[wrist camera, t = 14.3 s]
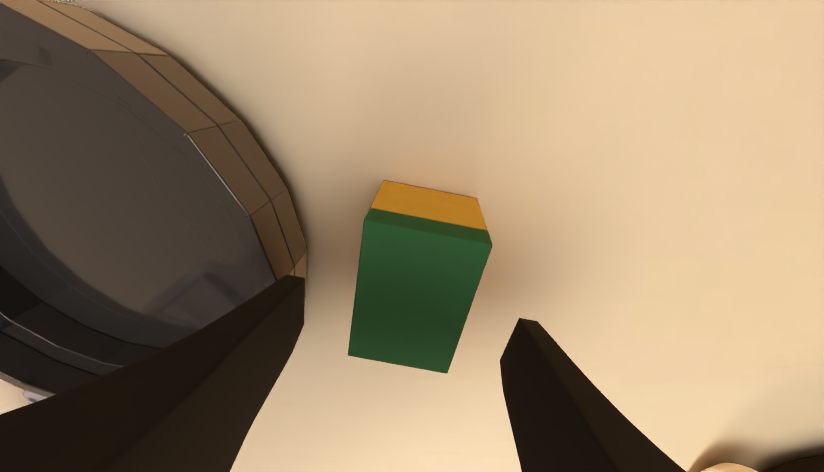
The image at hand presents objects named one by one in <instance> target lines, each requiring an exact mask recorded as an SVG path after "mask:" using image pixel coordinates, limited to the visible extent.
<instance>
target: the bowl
mask: <svg viewBox="0 0 824 472" xmlns="http://www.w3.org/2000/svg"><path fill="white" fill-rule="evenodd" d="M306 249H307V247H306V244H305V240H304V237H303V234H302V231H301V228H300V225H299V222H298V219H297V216H296V213H295V210H294V207H293V204H292V201H291V198H290V195H289V192H288V189H287V187H286V185H285V184H284V182H283V181H282V179H281V178H280V176H279V175H278V173H277V172H276V170H275V169H274V167H273V166H272V164H271V163H270V161H269V160H268V158H267V157H266V155H265V154H264V152H263V151H262V149H261V148H260V146H259V145H258V143H257V142H256V140H255V139H254V137H253V136H252V135H251V133H250V132H249V130H248V129H247V127H246V126H245V124H244V123H243V121H240V119H239V118H238V117H237V116H236V115H235V114H234V113H233V112H232V111H231V110H229V109H228V108H227V107H226V106H225V105H224V104H223V103H222V102H221V101H220V100H218V99H217V98H216V97H215V96H214V95H213V94H212V93H211V92H210V91H209V90H207V89H206V88H205V87H204V86H203V85H202V84H201V83H200V82H199V81H198V80H197V79H195V78H194V77H193V76H192V75H191V74H190V73H189V72H188V71H187V70H186V69H184V68H183V67H182V66H181V65H180V64H179V63H178V62H177V61H176V60H175V59H173V58H172V57H170V55H169V54H167V53H165V52H163V51H161V50H160V49H158V48H156V47H154V46H152V45H150V44H148V43H147V42H145V41H143V40H141V39H139V38H137V37H136V36H134V35H132V34H130V33H128V32H126V31H125V30H123V29H121V28H119V27H117V26H115V25H114V24H112V23H110V22H108V21H106V20H104V19H103V18H101V17H99V16H97V15H95V14H93V13H91V12H90V11H88V10H86V9H84V8H81V7H78V6H73V5H68V4H63V3H59V2H54V1H49V0H0V379H2V380H4V381H7V382H9V383H11V384H13V385H15V386H17V387H19V388H22V389H24V390H27V391H29V392H32V393H35V394H38V395H41V396H44V397H47V398H48V397H50V396H53V395H56V394H59V393H61V392H64V391H66V390H69V389H71V388H74V387H76V386H79V385H81V384H84V383H87V382H89V381H91V380H94V379H96V378H99V377H101V376H103V375H105V374H108V373H110V372H112V371H115V370H117V369H119V368H122V367H124V366H126V365H128V364H131V363H133V362H135V361H138V360H140V359H142V358H144V357H146V356H149V355H151V354H153V353H155V352H157V351H159V350H161V349H163V348H165V347H167V346H169V345H171V344H173V343H175V342H177V341H179V340H181V339H183V338H185V337H187V336H189V335H190V334H192V333H194V332H196V331H198V330H199V329H201V328H203V327H205V326H206V325H208V324H210V323H211V322H213V321H215V320H216V319H218V318H220V317H222V316H223V315H225V314H227V313H228V312H230V311H231V310H233V309H235V308H236V307H238V306H239V305H241V304H242V303H244V302H245V301H247V300H249V299H250V298H252V297H253V296H255V295H256V294H258V293H259V292H261V291H262V290H264V289H265V288H267V287H268V286H270V285H271V284H273V283H274V282H276V281H277V280H279V279H280V278H282V277H283V276H285V275H286V274H288V275H293V276H298V277H304V278H305V298H306V263H307V250H306Z"/></svg>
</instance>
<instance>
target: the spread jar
mask: <svg viewBox="0 0 824 472" xmlns="http://www.w3.org/2000/svg"><path fill="white" fill-rule="evenodd" d="M701 472H758V471H755V470H753V469H751V468H748V467H745V466H742V465H739V464H734V463H720V464H717V465H714V466H712V467H709V468H707V469H705V470H703V471H701ZM770 472H824V455H823V456H816V457H810V458H805V459H801V460H797V461H794V462H790V463H787V464H785V465H782V466H780V467H778V468H776V469H773V470H772V471H770Z"/></svg>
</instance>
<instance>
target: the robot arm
mask: <svg viewBox="0 0 824 472" xmlns="http://www.w3.org/2000/svg"><path fill="white" fill-rule="evenodd" d="M304 301H305V278H304V277H298V276H293V275H288V274H286V275H285V276H283V277H282V278H280V279H279V280H277V281H276V282H274V283H273V284H271V285H270V286H268V287H267V288H265V289H264V290H262V291H261V292H259V293H258V294H256V295H255V296H253V297H252V298H250V299H249V300H247V301H245V302H244V303H242V304H241V305H239V306H238V307H236V308H235V309H233V310H231V311H230V312H228V313H227V314H225V315H223V316H222V317H220V318H218V319H216V320H215V321H213V322H211V323H210V324H208V325H206V326H205V327H203V328H201V329H199V330H198V331H196V332H194V333H192V334H190V335H189V336H187V337H185V338H183V339H181V340H179V341H177V342H175V343H173V344H171V345H169V346H167V347H165V348H163V349H161V350H159V351H157V352H155V353H153V354H151V355H149V356H146V357H144V358H142V359H140V360H138V361H135V362H133V363H131V364H128V365H126V366H124V367H122V368H119V369H117V370H115V371H112V372H110V373H108V374H105V375H103V376H101V377H99V378H96V379H94V380H91V381H89V382H87V383H84V384H81V385H79V386H76V387H74V388H71V389H69V390H66V391H64V392H61V393H59V394H56V395H53V396H50V397H48V398H47V397H44V396H41V395H38V394H35V393H32V392H29V391H27V390H24V391H23V395H24V397H25V398H26V400H27V401H28V403H29V405H26V406H23V407H21V408H18V409H15V410H12V411H9V412H6V413H4V414H1V415H0V472H230V470H231V468H232V465H233V463H234V461H235V459H236V457H237V455H238V452H239V450H240V448H241V446H242V444H243V441H244V439H245V437H246V435H247V433H248V431H249V429H250V427H251V425H252V423H253V421H254V419H255V418H256V416H257V414H258V412H259V411H260V409H261V407H262V405H263V404H264V402H265V400H266V398H267V396H268V395H269V393H270V391H271V389H272V388H273V386H274V384H275V382H276V381H277V379H278V377H279V375H280V373H281V372H282V370H283V368H284V366H285V364H286V363H287V361H288V359H289V357H290V355H291V354H292V352H293V349H294V347H295V345H296V342H297V340H298V337H299V335H300V333H301V330H302V328H303V325H304ZM500 366H501V377H502V385H503V392H504V397H505V401H506V406H507V410H508V414H509V419H510V423H511V427H512V431H513V436H514V440H515V444H516V448H517V452H518V457H519V461H520V465H521V470H522V472H686V471H685V470H683V469H682V468H681V467H680V466H679V465H677V464H676V463H675V462H674V461H673V460H672V459H670V458H669V457H668V456H667V455H666V454H665V453H664V452H662V451H661V450H660V449H659V448H658V447H657V446H656V445H655V444H653V443H652V442H651V441H650V440H649V439H648V438H647V437H646V436H645V435H644V434H643V433H642V432H640V431H639V430H638V429H637V428H636V427H635V426H634V425H633V424H632V423H631V422H630V421H629V420H628V419H627V418H626V417H625V416H624V415H623V414H622V413H621V412H620V411H619V410H618V409H617V408H616V407H615V406H614V405H613V404H612V403H611V402H610V401H609V400H608V399H607V398H606V397H605V396H604V395H603V394H602V393H601V392H600V391H599V390H598V389H597V388H596V387H595V386H594V384H593V383H592V382H591V381H590V380H589V379H588V378H587V377H586V376H585V375H584V374H583V372H582V371H581V370H580V369H579V368H578V367H577V366H576V365H575V364H574V362H573V361H572V360H571V359H570V358H569V357H568V356H567V354H566V353H565V352H564V351H563V350H562V349H561V348H560V346H559V345H558V344H557V343H556V342H555V341H554V339H553V338H552V337H551V336H550V335H549V334H548V333H547V332H546V330H545V329H544V328H543V327H542V326H541V325H540V324H539V323H538V322H537V321H533V320H527V319H522V318H519V320H518V322H517V324H516V326H515V328H514V330H513V333H512V335H511V337H510V339H509V341H508V344H507V346H506V348H505V350H504V352H503V355H502V357H501V359H500Z"/></svg>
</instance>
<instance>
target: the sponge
mask: <svg viewBox="0 0 824 472" xmlns="http://www.w3.org/2000/svg"><path fill="white" fill-rule="evenodd" d="M491 248H492V242H491V239H490V236H489V233H488V231H487V227H486V224H485V221H484V218H483V215H482V212H481V209H480V206H479V203H478V200H477V199H476V198H471V197H466V196H461V195H456V194H451V193H446V192H441V191H436V190H431V189H425V188H420V187H415V186H410V185H405V184H400V183H395V182H390V181H383V183H382V185H381V187H380V189H379V191H378V193H377V195H376V197H375V199H374V201H373V203H372V205H371V208H370V209H369V211H368V214H367V216H366V218H365V220H364V226H363V234H362V242H361V250H360V259H359V267H358V275H357V284H356V292H355V300H354V308H353V317H352V325H351V333H350V342H349V350H348V355H349V356H354V357H359V358H365V359H370V360H376V361H381V362H387V363H392V364H398V365H403V366H408V367H414V368H419V369H425V370H430V371H436V372H441V373H448V370H449V367H450V364H451V361H452V358H453V356H454V353H455V350H456V347H457V344H458V341H459V339H460V336H461V333H462V330H463V327H464V324H465V322H466V319H467V316H468V313H469V310H470V307H471V305H472V302H473V299H474V296H475V293H476V290H477V288H478V285H479V282H480V279H481V276H482V273H483V271H484V268H485V265H486V262H487V259H488V256H489V254H490V251H491Z"/></svg>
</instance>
